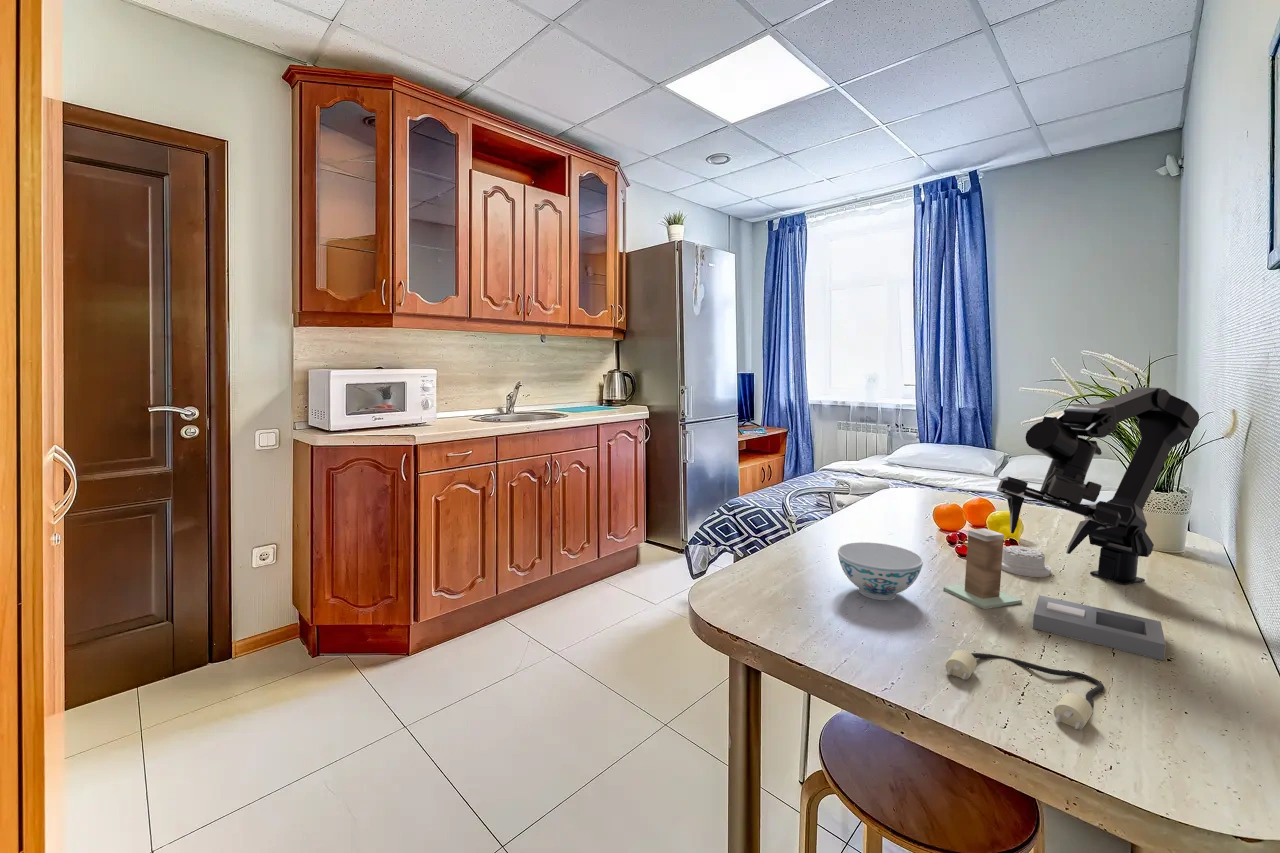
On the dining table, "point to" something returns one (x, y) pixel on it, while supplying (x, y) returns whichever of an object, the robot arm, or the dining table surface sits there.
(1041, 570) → the mechanical component
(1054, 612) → the socket block
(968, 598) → the mat
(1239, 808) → the dining table surface
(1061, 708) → the cable
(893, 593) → the chinaware
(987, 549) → the plug
